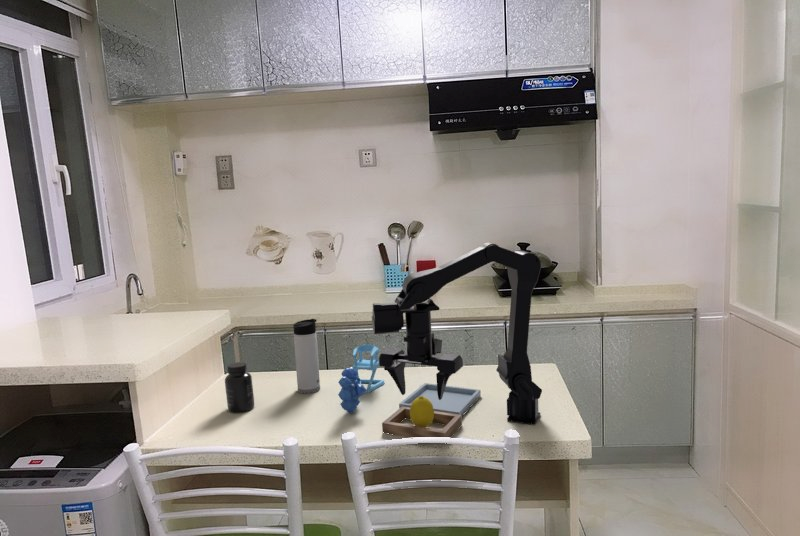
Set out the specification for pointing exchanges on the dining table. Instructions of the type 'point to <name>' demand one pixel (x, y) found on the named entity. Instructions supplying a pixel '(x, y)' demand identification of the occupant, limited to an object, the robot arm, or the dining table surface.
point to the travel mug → (306, 356)
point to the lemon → (421, 412)
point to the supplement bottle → (239, 388)
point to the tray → (445, 398)
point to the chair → (367, 365)
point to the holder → (404, 430)
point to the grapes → (350, 389)
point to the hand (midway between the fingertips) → (421, 396)
